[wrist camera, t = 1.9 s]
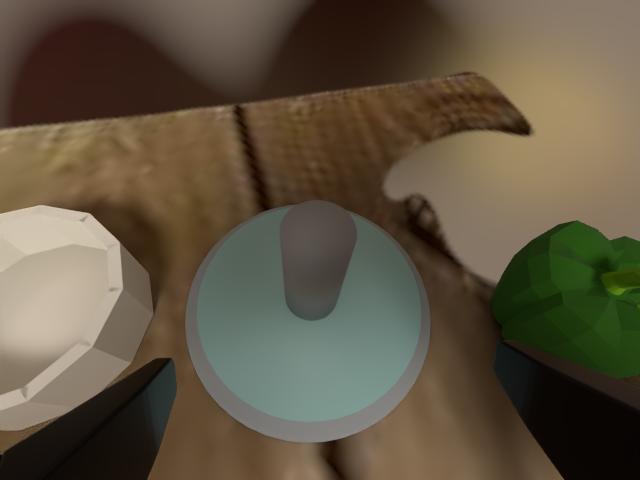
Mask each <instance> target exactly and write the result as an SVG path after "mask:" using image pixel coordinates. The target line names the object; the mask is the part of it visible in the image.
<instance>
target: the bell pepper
mask: <svg viewBox="0 0 640 480" xmlns="http://www.w3.org/2000/svg"><path fill="white" fill-rule="evenodd" d="M491 307H492V310H493V314H494V317H495V320H496V321H497V322H498V323H499V324H500V325H501V326H502V336H503V338H504V340H514V341H517V342H520V343H523V344H525V345H528V346H531V347H533V348H536V349H539V350H541V351H544V352H547V353H549V354H552V355H555V356H558V357H560V358H563V359H566V360H568V361H571V362H574V363H576V364H579V365H582V366H584V367H587V368H590V369H592V370H595V371H598V372H601V373H603V374H606V375H609V376H611V377H614V378H617V379H618V378H625V377H632V376H639V375H640V242H639V241H637V240H634V239H631V238H629V237H626V236H624V237H621V238H617V239H614V240H610V241H609V240H608V239H607V238H606V237H605V236H604V235H603V234H602V233H601V232H599V231H598V230H597V229H595V228H593V227H590V226H588V225H586V224H584V223H581V222H579V221H572V222H568V223H563V224H559V225H557V226H555V227H554V228H552V229H550V230H549V231H547V232H545V233H544V234H542V235H540V236H538V237H537V238H535V239H533V240H532V241H531V242H529V243H528V244H527V245H526V246H525V247H524V248H522V249H521V250H520V251H519V252H518V253H517V254H515V255H514V257H513V258H512V260H511V262H510V263H509V265H508V266H507V268H506V270H505V271H504V273H503V275H502V277H501V278H500V281H499V282H498V285H497V287H496V289H495V291H494V293H493V295H492V298H491Z"/></svg>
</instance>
